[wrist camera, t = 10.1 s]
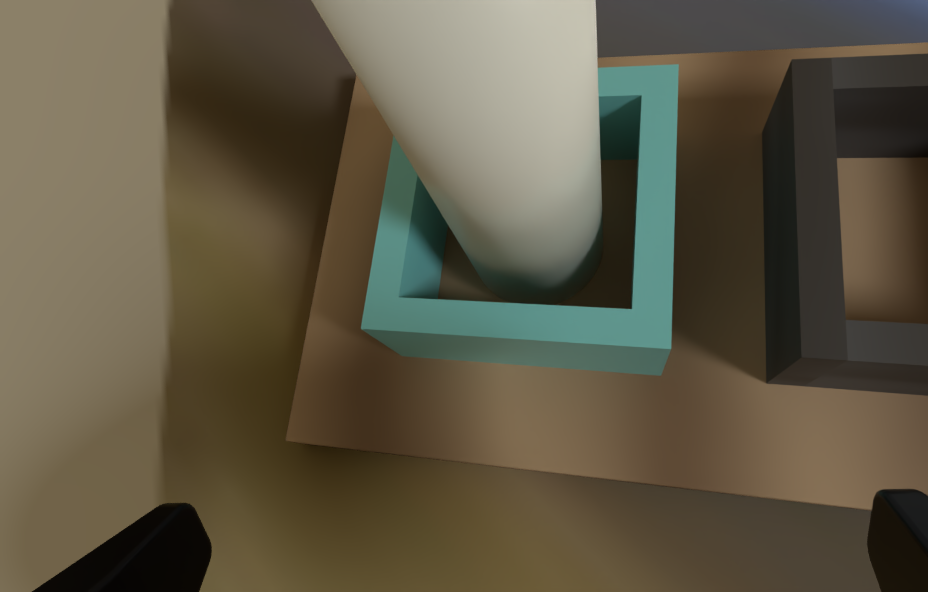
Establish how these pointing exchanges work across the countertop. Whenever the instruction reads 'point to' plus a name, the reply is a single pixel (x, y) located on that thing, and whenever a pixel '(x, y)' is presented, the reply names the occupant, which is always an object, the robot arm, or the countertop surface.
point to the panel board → (687, 300)
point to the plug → (493, 126)
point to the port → (533, 325)
